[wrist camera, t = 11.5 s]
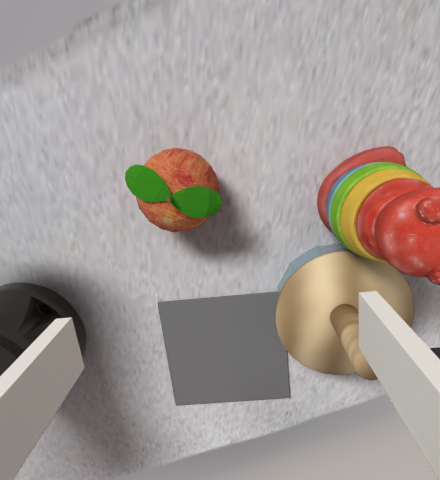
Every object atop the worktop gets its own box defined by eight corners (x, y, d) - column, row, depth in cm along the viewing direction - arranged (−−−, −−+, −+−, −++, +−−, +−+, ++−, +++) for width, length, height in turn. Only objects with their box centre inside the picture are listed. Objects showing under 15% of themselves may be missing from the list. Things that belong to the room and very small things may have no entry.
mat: (176, 403, 50) (175, 405, 49) (158, 302, 45) (157, 303, 45) (289, 396, 49) (289, 397, 48) (282, 291, 44) (282, 292, 44)
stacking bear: (406, 235, 42) (526, 303, 25) (320, 249, 43) (379, 325, 26) (401, 142, 39) (533, 147, 22) (309, 160, 40) (367, 179, 23)
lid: (277, 373, 42) (289, 436, 33) (272, 254, 38) (284, 290, 29) (406, 367, 41) (453, 430, 32) (415, 245, 37) (473, 279, 28)
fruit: (202, 234, 43) (193, 263, 33) (130, 198, 42) (99, 217, 32) (235, 170, 40) (236, 181, 31) (160, 130, 39) (137, 129, 30)
